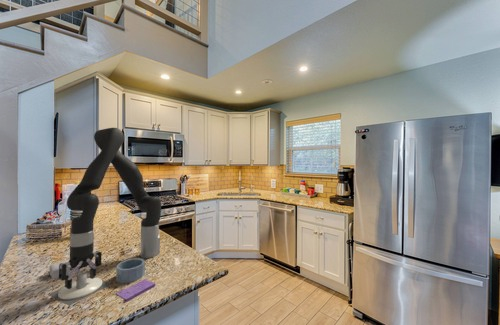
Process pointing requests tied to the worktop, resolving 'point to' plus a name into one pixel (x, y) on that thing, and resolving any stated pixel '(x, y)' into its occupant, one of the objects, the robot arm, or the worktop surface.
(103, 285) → the mat
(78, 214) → the decorative candle
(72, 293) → the lid
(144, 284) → the sponges
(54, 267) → the charger
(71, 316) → the worktop surface
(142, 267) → the bowl
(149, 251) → the robot arm
